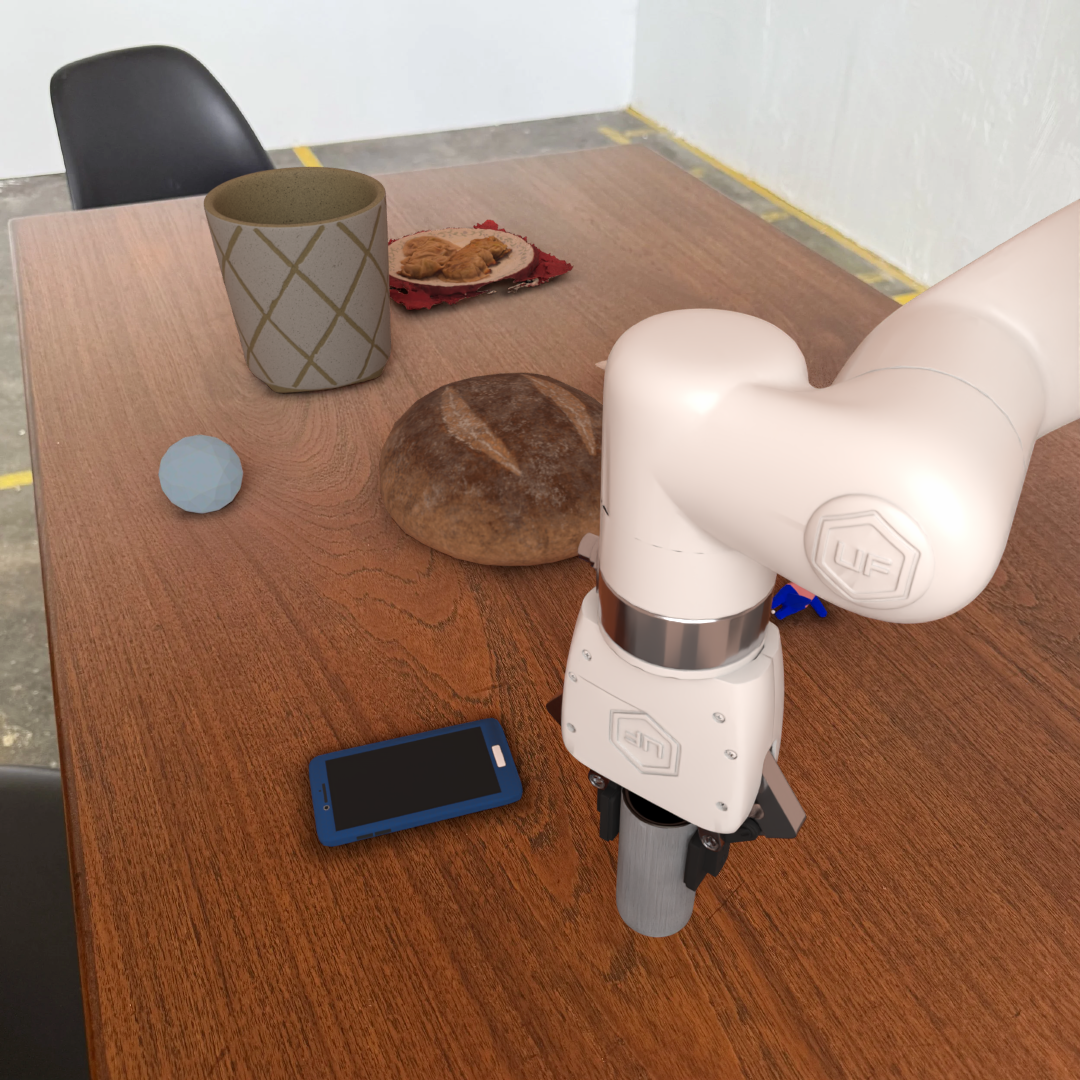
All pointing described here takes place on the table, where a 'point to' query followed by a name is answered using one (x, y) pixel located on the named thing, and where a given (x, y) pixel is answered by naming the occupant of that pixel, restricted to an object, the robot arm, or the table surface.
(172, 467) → the gemstone
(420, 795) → the cell phone
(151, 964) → the table surface
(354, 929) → the table surface
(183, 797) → the table surface
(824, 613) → the figurine
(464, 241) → the plate with food
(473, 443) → the bread
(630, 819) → the planter
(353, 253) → the planter
